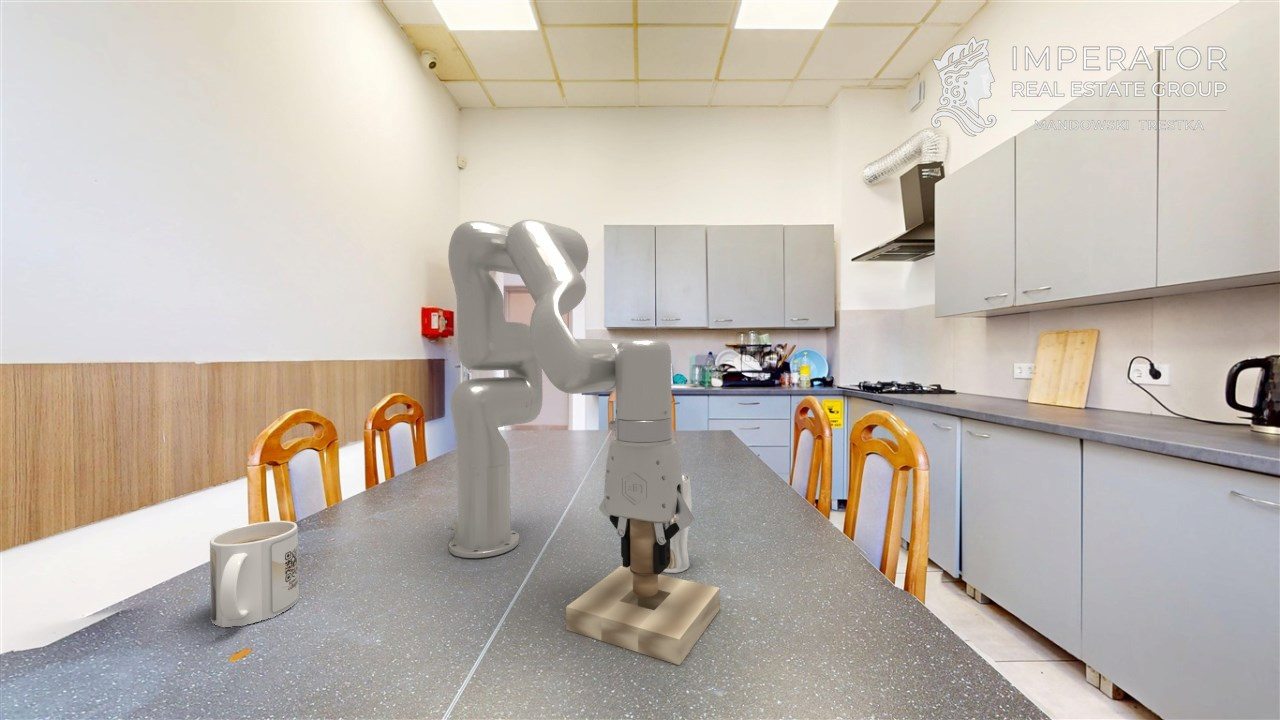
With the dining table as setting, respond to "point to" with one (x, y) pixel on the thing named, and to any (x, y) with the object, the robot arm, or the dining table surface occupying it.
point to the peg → (643, 557)
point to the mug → (253, 572)
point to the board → (645, 615)
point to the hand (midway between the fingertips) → (645, 565)
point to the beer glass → (680, 537)
